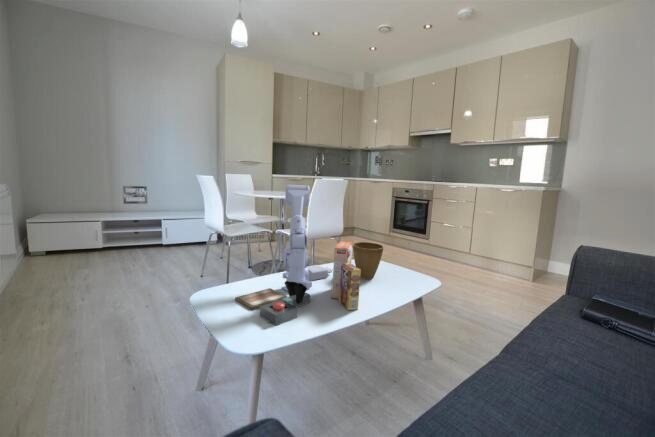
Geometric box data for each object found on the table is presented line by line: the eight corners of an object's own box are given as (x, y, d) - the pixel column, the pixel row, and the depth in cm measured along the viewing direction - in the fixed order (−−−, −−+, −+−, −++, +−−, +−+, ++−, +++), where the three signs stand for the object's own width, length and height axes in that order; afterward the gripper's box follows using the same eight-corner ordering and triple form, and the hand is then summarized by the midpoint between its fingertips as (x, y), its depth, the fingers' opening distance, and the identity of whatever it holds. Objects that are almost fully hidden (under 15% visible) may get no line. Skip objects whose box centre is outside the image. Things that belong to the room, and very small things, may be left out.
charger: (337, 276, 153) (311, 281, 144) (326, 271, 160) (301, 276, 151) (337, 267, 152) (312, 271, 143) (326, 262, 160) (301, 266, 151)
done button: (279, 307, 109) (279, 300, 108) (286, 310, 106) (287, 304, 106) (270, 310, 106) (270, 303, 105) (277, 314, 103) (277, 307, 103)
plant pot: (348, 279, 149) (349, 246, 146) (354, 270, 163) (356, 240, 161) (379, 283, 144) (381, 250, 142) (383, 274, 158) (385, 243, 156)
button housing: (281, 309, 112) (281, 299, 112) (297, 317, 106) (297, 307, 106) (259, 316, 106) (259, 306, 106) (275, 325, 100) (275, 315, 99)
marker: (306, 299, 123) (306, 291, 122) (312, 301, 120) (312, 293, 120) (281, 307, 114) (281, 298, 113) (286, 310, 112) (287, 301, 111)
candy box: (359, 309, 115) (361, 269, 113) (348, 310, 113) (350, 270, 111) (348, 300, 123) (350, 262, 121) (338, 301, 122) (340, 263, 120)
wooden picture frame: (270, 290, 130) (270, 287, 130) (288, 299, 122) (288, 296, 121) (234, 300, 118) (234, 296, 118) (252, 310, 110) (252, 306, 110)
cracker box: (346, 300, 123) (348, 248, 120) (331, 298, 124) (333, 247, 121) (350, 288, 136) (353, 241, 134) (337, 287, 138) (339, 240, 135)
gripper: (276, 263, 117) (275, 297, 119) (301, 272, 107) (300, 310, 109) (291, 260, 122) (290, 293, 124) (316, 269, 112) (315, 305, 114)
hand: (296, 301), depth 116 cm, fingers closed on marker, 3 cm apart
